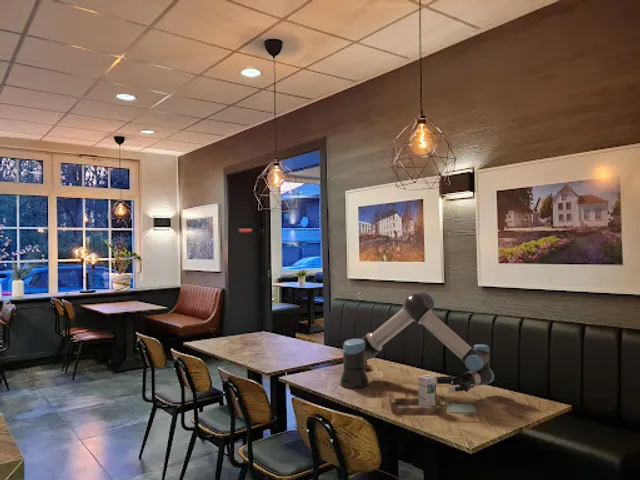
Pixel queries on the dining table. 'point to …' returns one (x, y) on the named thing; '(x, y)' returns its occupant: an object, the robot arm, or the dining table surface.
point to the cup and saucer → (367, 366)
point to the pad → (461, 408)
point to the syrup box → (427, 391)
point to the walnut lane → (403, 408)
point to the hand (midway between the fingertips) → (437, 386)
